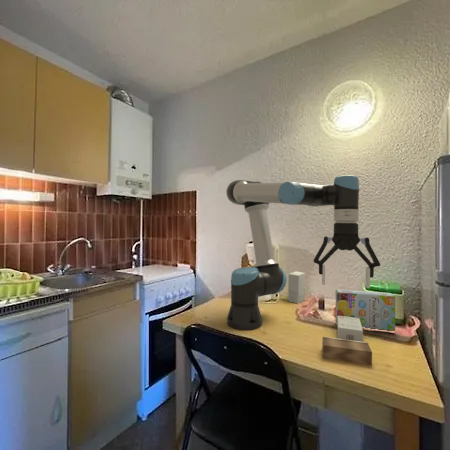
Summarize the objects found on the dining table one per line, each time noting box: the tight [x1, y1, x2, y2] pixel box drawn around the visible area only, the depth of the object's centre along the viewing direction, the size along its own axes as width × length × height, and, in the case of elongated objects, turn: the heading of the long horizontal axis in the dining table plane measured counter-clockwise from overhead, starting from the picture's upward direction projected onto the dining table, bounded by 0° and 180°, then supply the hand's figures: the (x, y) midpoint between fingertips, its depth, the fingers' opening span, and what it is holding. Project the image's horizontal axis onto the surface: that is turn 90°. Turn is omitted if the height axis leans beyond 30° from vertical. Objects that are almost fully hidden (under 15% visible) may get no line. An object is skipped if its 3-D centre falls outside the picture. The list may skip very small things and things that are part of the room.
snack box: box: [335, 289, 396, 332], centre depth 108 cm, size 21×6×15 cm, turn 73°
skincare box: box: [287, 270, 306, 304], centre depth 145 cm, size 8×7×16 cm
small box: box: [336, 316, 364, 342], centre depth 98 cm, size 8×6×13 cm
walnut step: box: [321, 336, 373, 366], centre depth 86 cm, size 14×6×4 cm, turn 72°
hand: (345, 285), depth 88 cm, fingers open, 13 cm apart
